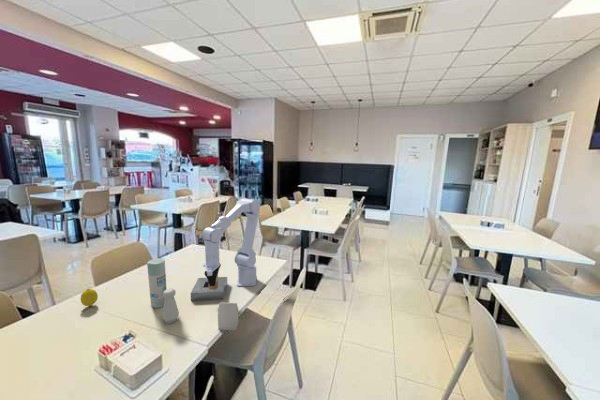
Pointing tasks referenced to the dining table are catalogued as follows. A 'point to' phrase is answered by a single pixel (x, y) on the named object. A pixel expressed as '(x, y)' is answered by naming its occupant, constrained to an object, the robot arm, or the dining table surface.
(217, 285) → the oak peg
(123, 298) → the dining table surface
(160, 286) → the spray paint can
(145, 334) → the dining table surface
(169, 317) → the salt shaker
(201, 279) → the steel block
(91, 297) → the lemon
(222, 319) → the white printed box
